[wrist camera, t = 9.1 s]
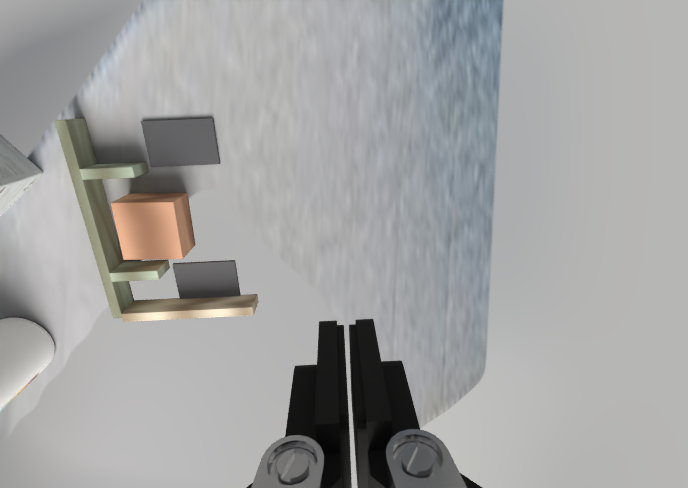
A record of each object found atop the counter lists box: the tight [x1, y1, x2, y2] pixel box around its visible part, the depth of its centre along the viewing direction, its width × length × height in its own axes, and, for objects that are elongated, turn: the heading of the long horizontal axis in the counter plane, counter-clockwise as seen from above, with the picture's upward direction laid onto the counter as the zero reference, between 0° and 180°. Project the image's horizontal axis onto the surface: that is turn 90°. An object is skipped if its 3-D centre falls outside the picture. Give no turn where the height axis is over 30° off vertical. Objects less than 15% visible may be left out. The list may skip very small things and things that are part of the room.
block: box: [111, 193, 195, 260], centre depth 40 cm, size 6×6×4 cm
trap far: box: [173, 260, 240, 299], centre depth 45 cm, size 7×4×1 cm, turn 92°
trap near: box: [141, 118, 220, 167], centre depth 39 cm, size 7×4×1 cm, turn 92°
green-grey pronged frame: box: [55, 118, 258, 322], centre depth 41 cm, size 16×22×3 cm
